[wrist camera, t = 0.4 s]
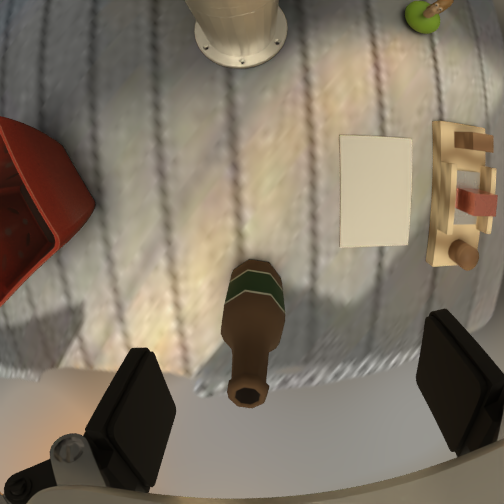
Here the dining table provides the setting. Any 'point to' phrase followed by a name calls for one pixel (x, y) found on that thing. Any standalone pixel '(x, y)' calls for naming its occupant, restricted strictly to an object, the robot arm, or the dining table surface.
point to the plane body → (444, 193)
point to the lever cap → (472, 199)
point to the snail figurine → (425, 15)
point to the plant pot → (35, 202)
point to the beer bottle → (252, 329)
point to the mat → (375, 190)
